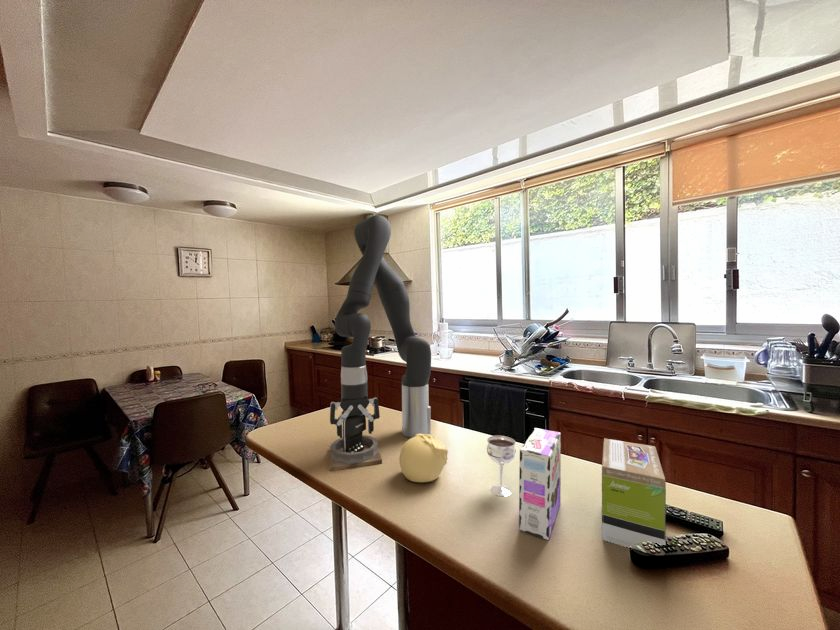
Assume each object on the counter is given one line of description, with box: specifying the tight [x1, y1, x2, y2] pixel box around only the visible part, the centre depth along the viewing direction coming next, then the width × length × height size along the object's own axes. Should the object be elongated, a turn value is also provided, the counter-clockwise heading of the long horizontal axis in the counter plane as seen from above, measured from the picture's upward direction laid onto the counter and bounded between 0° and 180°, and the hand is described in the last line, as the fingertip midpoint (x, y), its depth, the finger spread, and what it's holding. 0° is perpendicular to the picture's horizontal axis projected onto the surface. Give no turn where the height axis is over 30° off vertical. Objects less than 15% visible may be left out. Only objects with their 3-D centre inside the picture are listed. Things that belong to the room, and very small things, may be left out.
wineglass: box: [486, 435, 517, 497], centre depth 78 cm, size 7×7×12 cm
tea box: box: [601, 437, 667, 549], centre depth 65 cm, size 15×10×15 cm, turn 150°
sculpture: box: [398, 433, 449, 483], centre depth 85 cm, size 11×12×11 cm
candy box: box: [518, 427, 562, 541], centre depth 69 cm, size 14×6×16 cm, turn 148°
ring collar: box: [329, 434, 383, 471], centre depth 97 cm, size 14×14×4 cm
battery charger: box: [342, 413, 367, 453], centre depth 97 cm, size 7×4×11 cm, turn 148°
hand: (355, 435), depth 97 cm, fingers open, 8 cm apart
